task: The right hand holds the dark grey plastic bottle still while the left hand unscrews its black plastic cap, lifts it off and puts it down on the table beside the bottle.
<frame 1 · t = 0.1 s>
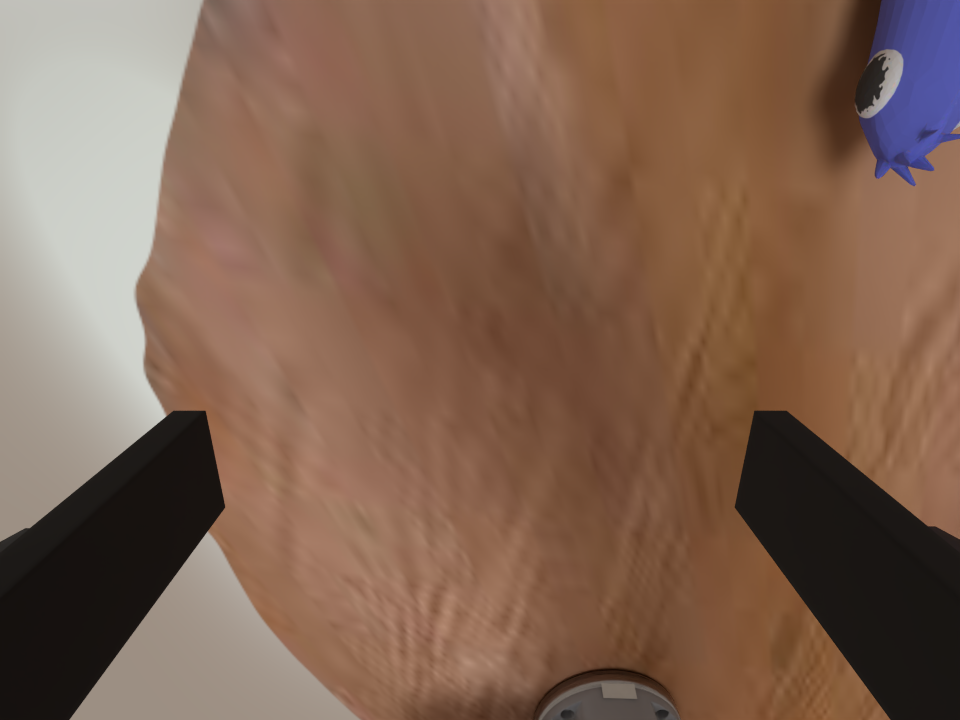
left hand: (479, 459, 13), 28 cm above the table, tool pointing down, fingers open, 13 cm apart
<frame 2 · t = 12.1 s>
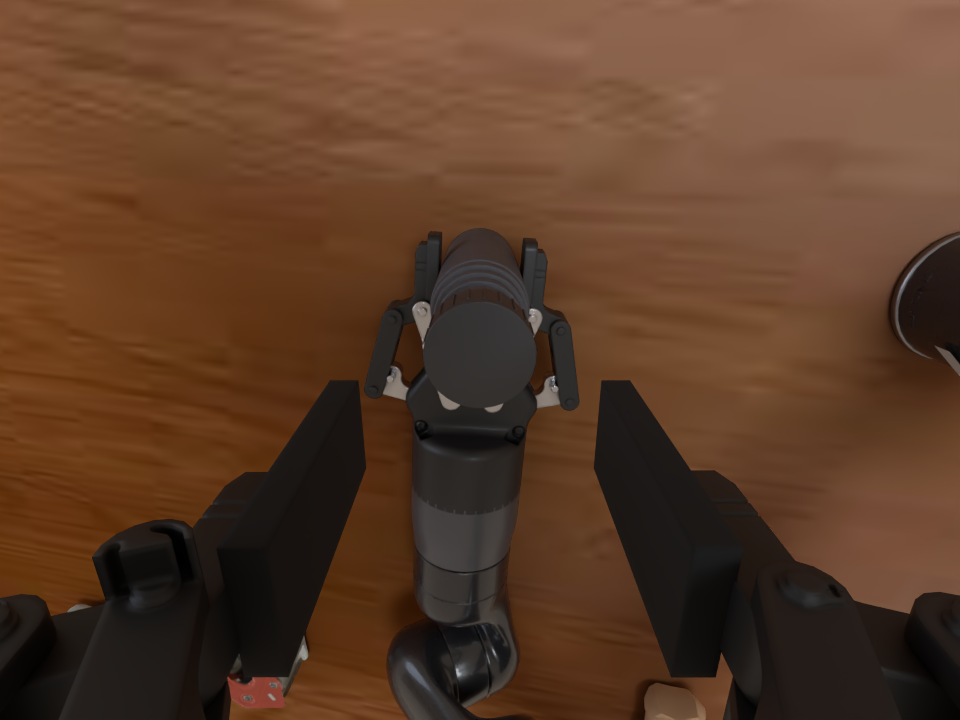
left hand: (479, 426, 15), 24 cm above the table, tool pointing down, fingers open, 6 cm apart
right hand: (482, 237, 31), fingers closed on bottle, 5 cm apart
tape dispenser: (215, 600, 48), on the table
bottle: (479, 263, 37), on the table, touching right hand
cap: (479, 354, 20), point 19 cm above the table, screwed on, not yet turned
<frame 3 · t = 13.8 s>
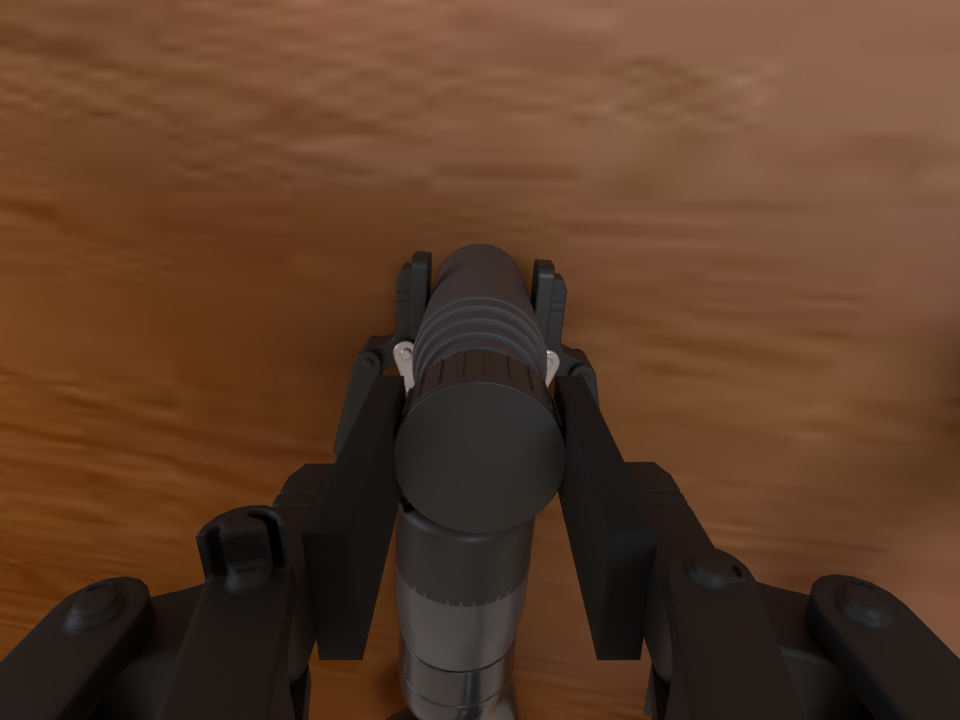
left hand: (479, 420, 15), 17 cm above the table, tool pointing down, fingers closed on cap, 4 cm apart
bottle: (479, 286, 30), on the table, touching right hand
cap: (479, 455, 13), point 19 cm above the table, screwed on, not yet turned, touching left hand
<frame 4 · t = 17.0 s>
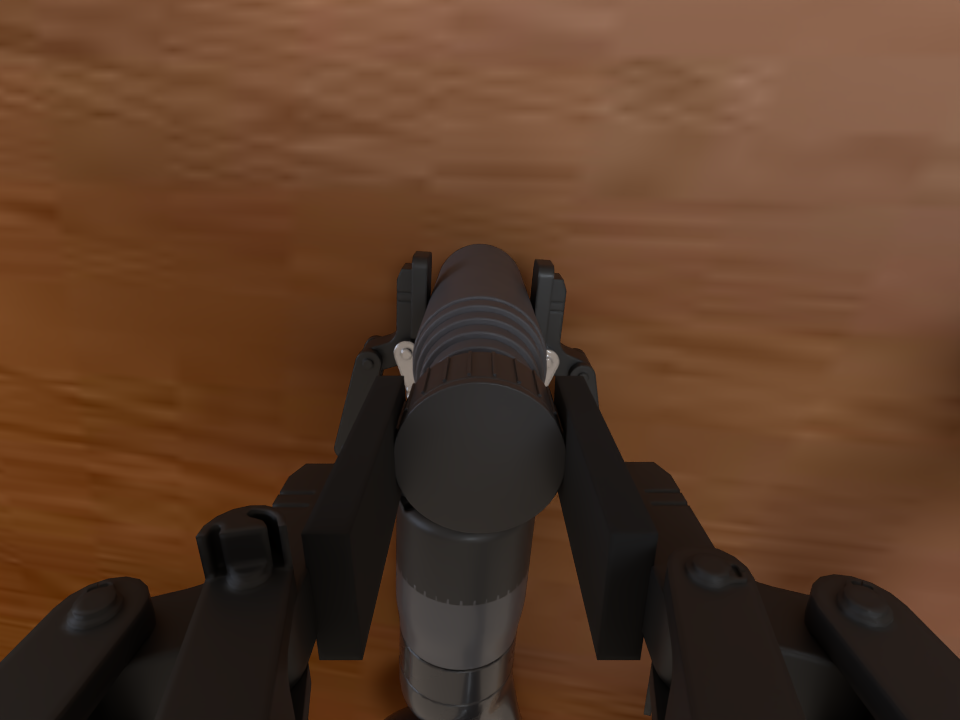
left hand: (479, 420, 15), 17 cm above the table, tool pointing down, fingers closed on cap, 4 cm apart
bottle: (479, 286, 31), on the table, touching right hand
cap: (479, 456, 13), point 19 cm above the table, turned 93° so far, risen 0.1 cm, still on its thread, touching left hand
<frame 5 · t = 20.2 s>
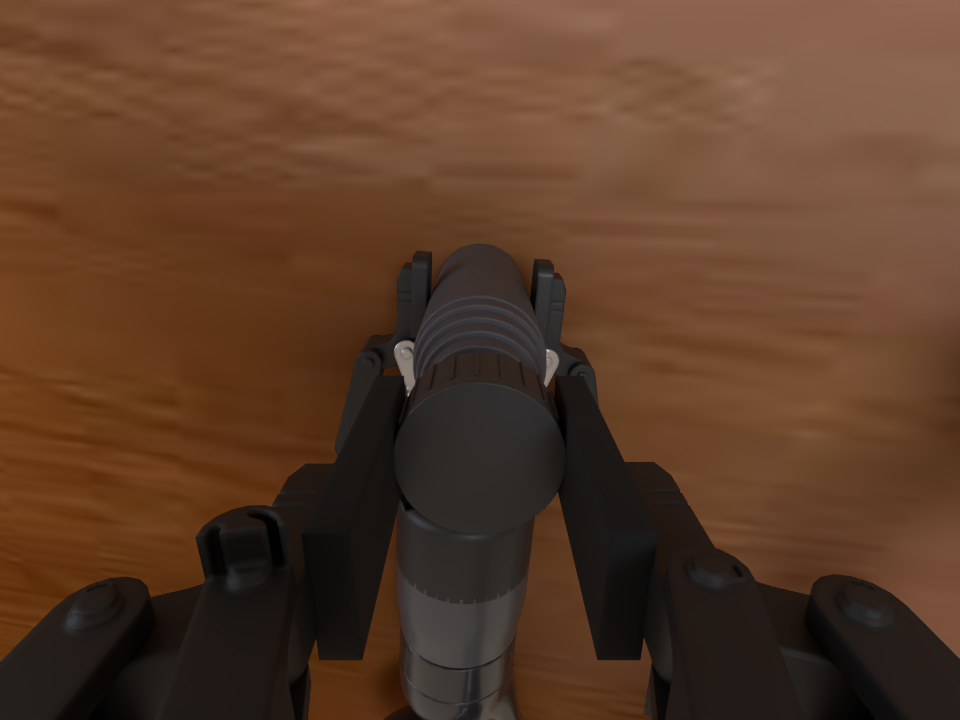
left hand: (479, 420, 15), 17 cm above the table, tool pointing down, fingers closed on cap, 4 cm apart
bottle: (479, 286, 31), on the table, touching right hand
cap: (479, 456, 13), point 19 cm above the table, turned 186° so far, risen 0.2 cm, still on its thread, touching left hand
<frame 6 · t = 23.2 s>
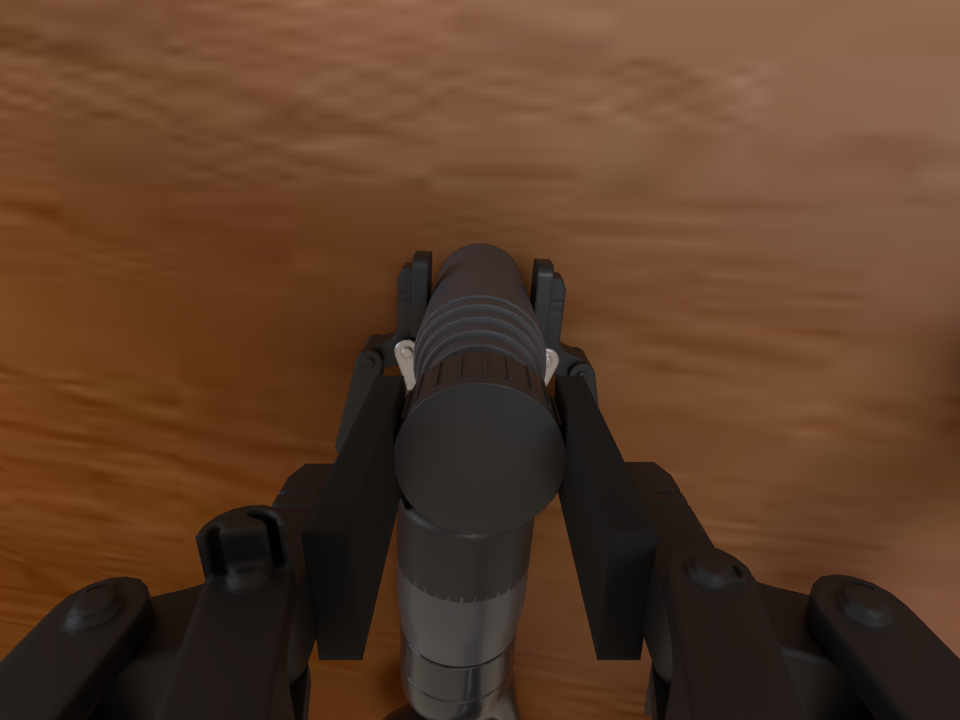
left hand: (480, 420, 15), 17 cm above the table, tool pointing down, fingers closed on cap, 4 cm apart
bottle: (479, 286, 31), on the table, touching right hand
cap: (479, 456, 13), point 19 cm above the table, turned 280° so far, risen 0.3 cm, still on its thread, touching left hand
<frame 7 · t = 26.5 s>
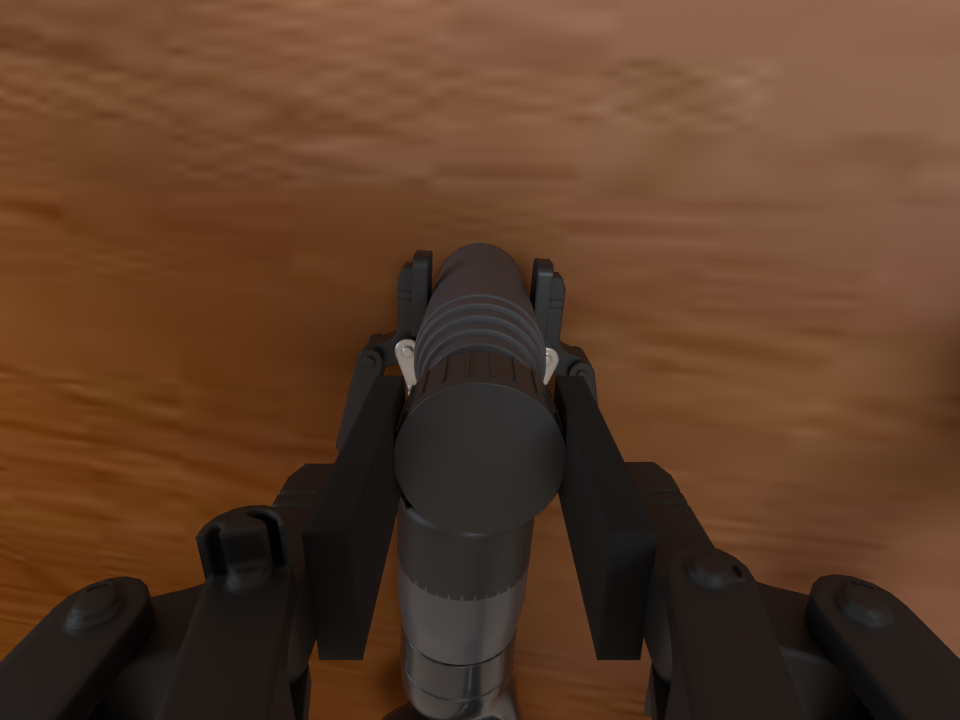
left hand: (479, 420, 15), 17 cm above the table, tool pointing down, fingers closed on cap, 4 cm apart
bottle: (479, 285, 31), on the table, touching right hand
cap: (480, 456, 13), point 19 cm above the table, turned 373° so far, risen 0.4 cm, still on its thread, touching left hand
when the left hand's fingers open (1 cm above the table, at t = 32.2 s): cap drops 1 cm, point 2 cm above the table.
when the right hand's fingers open (6 cm above the table, at t = 33.5 s): bottle stays where it is, on the table.
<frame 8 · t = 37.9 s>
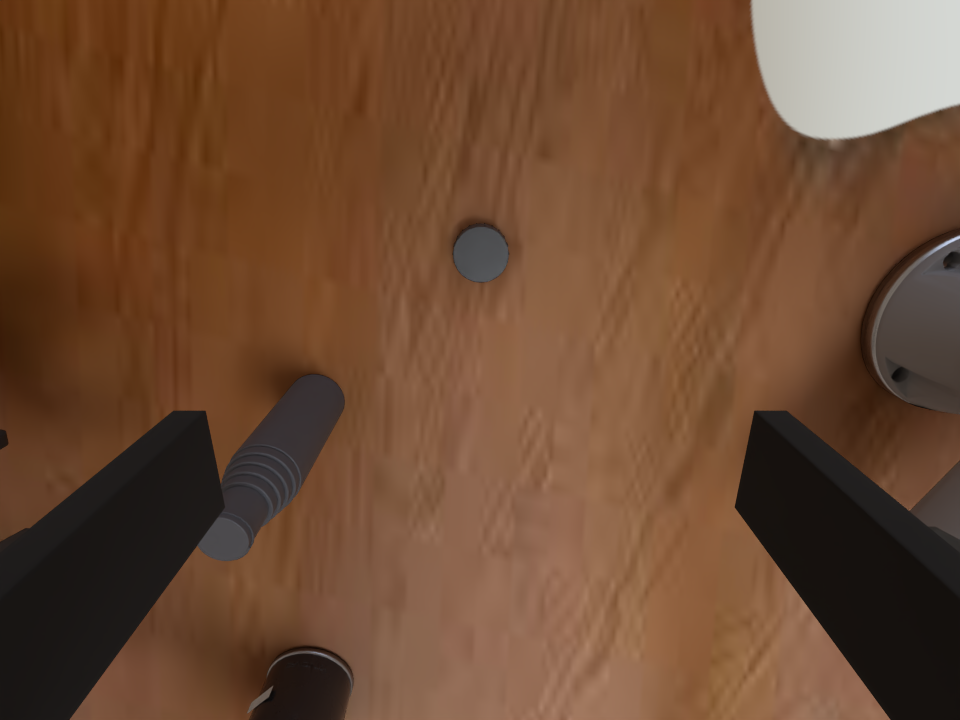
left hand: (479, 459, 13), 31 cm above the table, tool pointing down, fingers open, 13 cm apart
bottle: (317, 399, 47), on the table
cap: (480, 254, 41), point 2 cm above the table, off its thread
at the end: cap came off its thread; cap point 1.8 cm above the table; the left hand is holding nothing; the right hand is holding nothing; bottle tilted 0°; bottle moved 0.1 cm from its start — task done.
